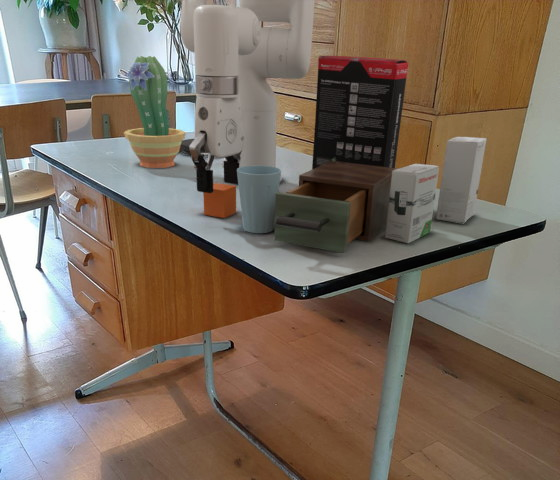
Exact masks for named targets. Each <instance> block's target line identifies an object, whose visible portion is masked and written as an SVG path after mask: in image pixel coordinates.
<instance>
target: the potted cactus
mask: <svg viewBox="0 0 560 480" xmlns="http://www.w3.org/2000/svg"><path fill="white" fill-rule="evenodd" d="M125 78H128V82H129V83H128V84H129V90H130V95H131V97H132V99H133V101H134V103H135V105H136V107H137V110H138V114H139V119H140V121H141V125H142V127H138V128H132V129H131V128H130V129H126V130H125V131H123V134H124V138H125V139H126V140H127V141H128V142H129V145H130V147H131V150H132V152H133V153H134V154H135V156H136V157H137V159H139V166H140V167H143V168H147V169H166V168H172V167H174V166H175V165H176V163H175V161H174V160H175V159H176V157H177V155H178V154H179V153H180V152H179V150H180V146H181V142H182V140H185V138H186V131H184V130H182V129H178V128H171V127H169V119H168V112H167V99H168V75H167V73H166V70H165V69H164V67H163V66H162V64H161V62H159V60H158V59H157V58H156V56H154V55H153V56H151V55H148V56H146V57H145V56H142V55H141V56H137V57H136V58H135V60H134V62H133V64H132V66H130V67H129V71H128V72H127V73H126V76H125Z"/></svg>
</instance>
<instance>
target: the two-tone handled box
mask: <svg viewBox="0 0 560 480" xmlns="http://www.w3.org/2000/svg"><path fill="white" fill-rule="evenodd" d="M368 193H369V189H364V188H356V187H349V186H341V185H334V184H326V183H319V182H311V181H308V182H306V183H304V184H302V185H300V186H299V185H298V186H296V187H294V188H292V189H290V190H288V191H286V192H282V191H278V193H276V199H275V222H274V241H275V242H279V243H286V244H292V245H296V246H297V245H298V246H302V247H303V246H304V247H309V248H313V249H314V248H315V249H318V250H319V249H320V250H325V251H326V250H327V251H332V252H337V253H342V254H344V253H346V252H347V250H348V249H347V247H348V245H349V244H350V243H351V242H353V240H356V239H355V238H356V237H357V236H359V235H360V234H361V233H362V232H364V231H365V222H366V212H367V203H368Z"/></svg>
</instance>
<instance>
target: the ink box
mask: <svg viewBox="0 0 560 480" xmlns="http://www.w3.org/2000/svg"><path fill="white" fill-rule="evenodd" d="M439 172H440V166H438V165H434V164H433V165H432V164H423V163H413V164H410V165H407V166H404V167H400V168H397V169H396V170H393V171H392V179H391V188H390V198H389V206H388V215H387V225H386V226H385V235H384V238H385V239H390V240H394V241H397V242H400V243H405V244H411V243H412V242H414V241H416V240H419V239H420V238H422V237H424V236H426V235H428V234H430V233H431V229H432V228H431V227H432V221H433V214H434V208H435V200H436V193H437V186H438V180H439Z"/></svg>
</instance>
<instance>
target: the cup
mask: <svg viewBox="0 0 560 480" xmlns="http://www.w3.org/2000/svg"><path fill="white" fill-rule="evenodd" d="M281 175H282V169H280V168H278V167H277V166H276V167H271V166H261V165H253V166H243V167H239V168H238V169H237V177H238V184H237V185H238V192H239V193H238V194H239V202H240V210H241V218H242V219H241V220H242V227H243V231H245V232H247V233H250V234H251V233H252V234H266V233H271V232H272V231H274V230H275V199H276V193H278V192H280V191H279V190H280V183H281V181H280V176H281Z"/></svg>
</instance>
